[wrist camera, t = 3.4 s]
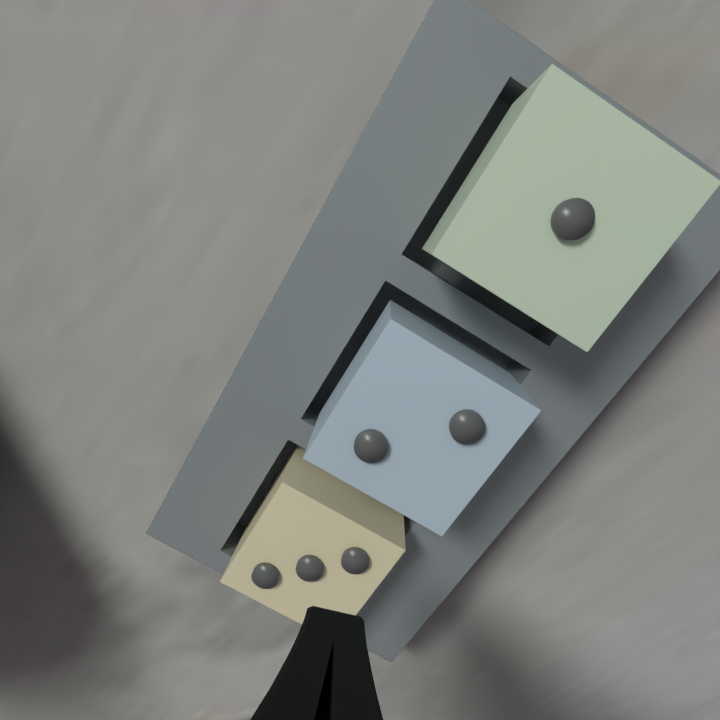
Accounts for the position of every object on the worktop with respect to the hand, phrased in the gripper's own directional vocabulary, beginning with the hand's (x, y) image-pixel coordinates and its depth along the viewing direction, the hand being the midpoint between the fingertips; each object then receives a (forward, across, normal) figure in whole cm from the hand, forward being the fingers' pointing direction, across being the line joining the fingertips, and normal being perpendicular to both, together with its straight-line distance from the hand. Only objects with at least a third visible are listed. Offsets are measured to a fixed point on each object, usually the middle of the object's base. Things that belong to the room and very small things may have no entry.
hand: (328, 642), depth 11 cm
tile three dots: (+8, +1, +2) cm, 9 cm away
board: (+9, -1, -4) cm, 10 cm away
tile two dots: (+7, -1, -4) cm, 8 cm away
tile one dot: (+7, -4, -11) cm, 13 cm away
